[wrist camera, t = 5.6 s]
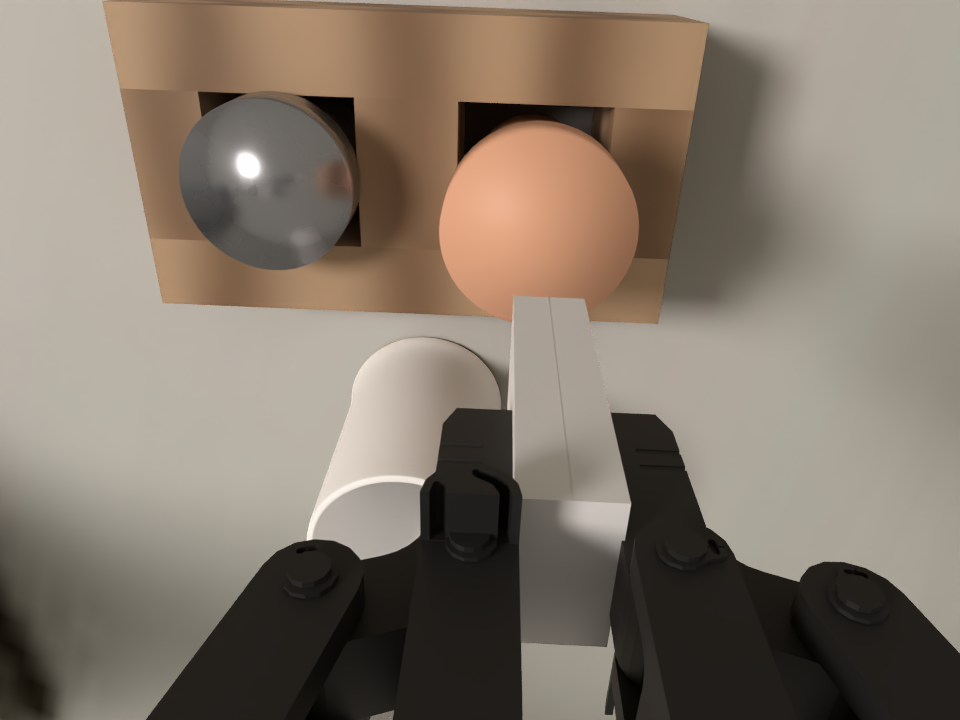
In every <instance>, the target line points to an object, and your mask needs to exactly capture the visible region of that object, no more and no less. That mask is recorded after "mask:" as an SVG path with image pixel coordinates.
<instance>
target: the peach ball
mask: <svg viewBox="0 0 960 720" xmlns="http://www.w3.org/2000/svg"><path fill="white" fill-rule="evenodd" d="M638 234H639V218H638V210H637V205H636V201H635V198H634V195H633V192H632V190H631V188H630V186H629V184H628V182H627V180H626V178H625V176H624V175H623V173H622V171H621V170H620V168H619V166H618V165H617V163H616V162H615V160H614V159H613V157H612V156H611V155H610V153H609V152H608V151H607V150H606V149H605V148H604V147H603V146H602V145H601V144H600V143H599V142H598V141H596V140H595V139H594V138H593V137H591V136H590V135H588V134H586V133H584V132H583V131H581V130H579V129H577V128H574V127H572V126H569V125H566V124H563V123H561V122H560V121H558V120H556V119H554V118H551V117H548V116H544V115H538V114H525V115H519V116H516V117H512V118H510V119H508V120H506V121H504V122H502V123H500V124H499V125H497V126H496V127H495V128H494V129H493V130H491V131H490V133H489V134H488V135H487V136H486V137H485V138H483V139H482V140H481V141H479V142H478V143H477V144H476V145H475V146H473V147H472V148H471V149H470V151H469V152H468V153H467V154H466V155H465V156H464V157H463V159H462V160H461V162H460V163H459V164H458V166H457V167H456V169H455V171H454V173H453V175H452V177H451V180H450V182H449V185H448V188H447V191H446V195H445V199H444V203H443V207H442V211H441V216H440V225H439V239H440V247H441V252H442V257H443V259H444V262H445V265H446V268H447V270H448V272H449V274H450V276H451V278H452V279H453V281H454V282H455V284H456V285H457V287H458V288H459V289H460V290H461V292H462V293H463V294H464V295H465V296H466V297H467V298H468V299H469V300H470V301H472V302H473V303H474V304H475V305H476V306H478V307H479V308H481V309H482V310H484V311H485V312H487V313H489V314H491V315H493V316H495V317H498V318H500V319H503V320H506V321H509V322H512V315H513V297H514V296H532V297H556V298H580V299H585V303H586V307H587V311H589V310H591V309H592V308H594V307H595V306H597V305H598V304H600V303H601V302H602V301H603V300H604V299H606V298H607V297H608V296H609V295H610V294H611V293H612V292H613V291H614V290H615V288H616V287H617V286H618V285H619V284H620V282H621V281H622V279H623V278H624V276H625V275H626V273H627V271H628V269H629V267H630V265H631V263H632V260H633V257H634V254H635V251H636V247H637V242H638Z"/></svg>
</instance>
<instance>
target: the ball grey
mask: <svg viewBox="0 0 960 720" xmlns="http://www.w3.org/2000/svg"><path fill="white" fill-rule="evenodd" d="M179 184H180V189H181V194H182V198H183V200H184V203H185V206H186V208H187V210H188V212H189V214H190V216H191V218H192V220H193V221H194V223H195V224H196V226H197V227H198V229H199V230H200V231H201V232H202V234H203V235H204V236H205V237H206V238H207V239H208V240H209V241H210V242H211V243H212V244H213V245H214V246H215V247H217V248H218V249H219V250H221V251H222V252H223V253H225V254H226V255H228V256H230V257H231V258H233V259H235V260H237V261H239V262H241V263H244V264H247V265H249V266H252V267H256V268H261V269H267V270H289V269H295V268H299V267H302V266H305V265H308V264H310V263H312V262H314V261H316V260H318V259H319V258H321V257H322V256H324V255H325V254H326V253H327V252H328V251H329V250H330V249H331V248H332V247H333V246H334V245H335V244H336V243H337V241H338V240H339V238H340V237H341V235H342V233H343V232H344V230H345V229H346V227H347V225H348V224H349V222H350V220H351V219H352V217H353V215H354V213H355V210H356V208H357V204H358V201H359V195H360V171H359V166H358V162H357V152H356V132H355V114H354V113H353V112H352V111H351V109H350V108H349V107H348V106H347V105H345V104H344V103H343V102H342V101H340V100H339V99H337V98H336V97H328V96H302V95H292V94H288V93H284V92H277V91H259V92H253V93H249V94H246V95H243V96H240V97H237V98H235V99H233V100H231V101H229V102H227V103H225V104H223V105H220V106H219V107H217V108H215V109H213V110H211V111H210V112H208V113H207V114H206V115H204V116H203V117H202V118H201V119H200V120H199V121H198V122H197V123H196V124H195V125H194V127H193V128H192V129H191V131H190V132H189V134H188V136H187V138H186V140H185V142H184V144H183V147H182V151H181V154H180V160H179Z"/></svg>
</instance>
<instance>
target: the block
mask: <svg viewBox="0 0 960 720" xmlns="http://www.w3.org/2000/svg"><path fill="white" fill-rule="evenodd" d="M103 6H104V11H105V16H106V21H107V26H108V31H109V36H110V41H111V46H112V51H113V56H114V61H115V66H116V71H117V76H118V81H119V86H120V91H121V96H122V101H123V106H124V111H125V116H126V121H127V126H128V131H129V136H130V141H131V146H132V151H133V156H134V161H135V166H136V171H137V176H138V181H139V186H140V191H141V196H142V201H143V206H144V211H145V216H146V221H147V226H148V231H149V236H150V241H151V246H152V251H153V256H154V261H155V266H156V271H157V276H158V281H159V286H160V291H161V296H162V301H163V303H173V304H197V305H222V306H246V307H270V308H294V309H318V310H342V311H366V312H390V313H415V314H439V315H463V316H487V317H495V316H493V315H491V314H489V313H487V312H485V311H484V310H482V309H481V308H479V307H478V306H476V305H475V304H474V303H473V302H472V301H470V300H469V299H468V298H467V297H466V296H465V295H464V294H463V293H462V292H461V290H460V289H459V288H458V287H457V285H456V284H455V282H454V281H453V279H452V278H451V276H450V274H449V272H448V270H447V268H446V265H445V262H444V259H443V257H442V252H441V247H440V239H439V225H440V216H441V211H442V207H443V203H444V199H445V195H446V191H447V188H448V185H449V182H450V180H451V177H452V175H453V173H454V171H455V169H456V167H457V166H458V164H459V163H460V162H461V160H462V159H463V157H464V128H465V102H484V103H510V104H536V105H562V106H588V107H595V110H594V119H593V129H592V137H593V138H594V139H595V140H596V141H598V142H599V143H600V144H601V145H602V146H603V147H604V148H605V149H606V150H607V151H608V152H609V153H610V155H611V156H612V157H613V159H614V160H615V162H616V163H617V165H618V166H619V168H620V170H621V171H622V173H623V175H624V176H625V178H626V180H627V182H628V184H629V186H630V188H631V190H632V192H633V195H634V198H635V201H636V205H637V210H638V218H639V234H638V242H637V247H636V251H635V254H634V257H633V260H632V263H631V265H630V267H629V269H628V271H627V273H626V275H625V276H624V278H623V279H622V281H621V282H620V284H619V285H618V286H617V287H616V288H615V290H614V291H613V292H612V293H611V294H610V295H609V296H608V297H607V298H606V299H604V300H603V301H602V302H601V303H600V304H598V305H597V306H595V307H594V308H592V309H591V310H589V311H587V312H588V316H589V321H608V322H632V323H656V324H658V321H659V315H660V309H661V303H662V297H663V291H664V285H665V280H666V274H667V268H668V262H669V256H670V250H671V244H672V238H673V232H674V227H675V221H676V215H677V209H678V203H679V197H680V191H681V185H682V179H683V173H684V168H685V162H686V156H687V150H688V144H689V138H690V132H691V126H692V120H693V114H694V109H695V103H696V97H697V91H698V85H699V79H700V73H701V67H702V61H703V55H704V50H705V44H706V38H707V32H708V26H709V23H705V22H700V21H696V20H692V19H688V18H684V17H680V16H676V15H661V14H634V13H607V12H580V11H553V10H526V9H499V8H472V7H445V6H418V5H392V4H365V3H338V2H311V1H284V0H110V1H103ZM259 91H277V92H284V93H288V94H292V95H302V96H328V97H354V112H355V132H356V152H357V162H358V166H359V171H360V195H359V205H357V208H356V210H355V213H354V215H353V217H352V219H351V220H350V222H349V224H348V225H347V227H346V229H345V230H344V232H343V233H342V235H341V237H340V238H339V240H338V241H337V243H336V244H335V245H334V246H333V247H332V248H331V249H330V250H329V251H328V252H327V253H326V254H325V255H324V256H322V257H321V258H319V259H318V260H316V261H314V262H312V263H310V264H308V265H305V266H302V267H299V268H295V269H289V270H267V269H261V268H256V267H252V266H249V265H247V264H244V263H241V262H239V261H237V260H235V259H233V258H231V257H230V256H228V255H226V254H225V253H223V252H222V251H221V250H219V249H218V248H217V247H215V246H214V245H213V244H212V243H211V242H210V241H209V240H208V239H207V238H206V237H205V236H204V235H203V234H202V232H201V231H200V230H199V229H198V227H197V226H196V224H195V223H194V221H193V220H192V218H191V216H190V214H189V212H188V210H187V208H186V206H185V203H184V200H183V198H182V194H181V189H180V184H179V160H180V154H181V151H182V147H183V144H184V142H185V140H186V138H187V136H188V134H189V132H190V131H191V129H192V128H193V127H194V125H195V124H196V123H197V122H198V121H199V120H200V119H201V118H202V117H203V116H204V115H206V114H207V113H208V112H210V111H211V110H213V109H215V108H217V107H219V106H220V105H223V104H225V103H227V102H229V101H231V100H233V99H235V98H237V97H240V96H243V95H246V94H249V93H253V92H259Z"/></svg>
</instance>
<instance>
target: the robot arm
mask: <svg viewBox="0 0 960 720" xmlns="http://www.w3.org/2000/svg"><path fill="white" fill-rule="evenodd" d="M610 626H611V629H612V635H613V642H614V648H615V653H614V658H613V664H612V670H611V675H610V681H609V686H608V692H607V698H606V706H605V715H613V709H614V706H615V713H616V720H960V653H959V652H958V651H957V650H956V649H955V648H954V647H953V646H952V645H951V644H950V643H949V642H948V641H947V639H946V638H945V637H944V636H943V635H942V634H941V633H940V632H939V631H938V630H937V629H936V628H935V627H934V626H933V624H932V623H931V622H930V621H929V620H928V619H927V618H926V617H925V616H924V615H923V614H922V613H921V612H920V611H919V609H918V608H917V607H916V606H915V605H914V604H913V603H912V602H911V601H910V600H909V599H908V598H907V597H906V596H905V595H904V593H902V592H901V591H900V590H899V589H898V588H896V587H895V586H894V585H893V584H892V583H890V582H889V581H888V580H887V579H885V578H883V577H881V576H879V575H877V574H876V573H874V572H872V571H870V570H868V569H866V568H863V567H859V566H856V565H852V564H848V563H845V562H822V563H820V564H817V565H814V566H811V567H809V568H808V569H807V571H806V572H805V573H804V574H803V576H802V577H801V579H800V582H797V581H793V580H790V579H786V578H783V577H779V576H776V575H772V574H769V573H765V572H762V571H759V570H757V569H754V568H751V567H748V566H746V565H744V564H743V563H741V562H739V561H737V560H736V558H735V555H734V554H733V552H732V550H731V549H730V547H729V546H728V544H727V543H726V541H725V540H724V539H722V538H721V537H720V536H718V535H717V534H716V533H715V532H713V531H712V530H711V529H709V528H706V525H705V522H704V519H703V516H702V514H701V511H700V508H699V505H698V502H697V499H696V497H695V494H694V491H693V488H692V485H691V482H690V480H689V477H688V474H687V471H685V465H684V463H683V460H682V457H681V455H679V448H678V446H677V443H676V440H675V437H674V434H673V432H672V431H671V430H670V429H669V428H668V427H667V426H666V425H665V424H664V423H663V422H662V421H661V420H660V419H659V418H658V417H657V416H656V415H651V414H628V413H610V408H609V404H608V400H607V395H606V391H605V386H604V382H603V378H602V373H601V369H600V364H599V360H598V356H597V351H596V347H595V342H594V338H593V334H592V329H591V325H590V321H589V316H588V312H587V307H586V303H585V299H580V298H556V297H532V296H514V297H513V315H512V332H511V350H510V367H509V385H508V403H507V410H495V409H473V408H456V409H455V410H454V412H453V413H452V414H451V415H450V416H449V417H448V418H447V419H446V421H445V422H444V423H443V426H442V433H441V439H440V446H439V453H438V461H437V466H436V472H434V473H433V474H432V475H431V476H429V477H428V478H427V479H426V480H425V482H424V484H423V486H422V488H421V490H420V536H419V537H418V538H417V539H416V540H414V541H413V542H412V543H411V544H409V545H408V546H406V547H404V548H402V549H400V550H398V551H396V552H392V553H389V554H386V555H382V556H378V557H373V558H368V559H363V560H360V558H359V557H358V556H357V555H356V554H355V553H354V551H353V550H352V549H351V548H350V547H348V546H345V545H343V544H341V543H338V542H336V541H332V540H319V539H313V540H308V541H302V542H297V543H294V544H292V545H290V546H288V547H286V548H284V549H281V550H279V551H277V552H276V553H275V554H274V555H273V556H272V557H271V558H270V559H269V560H267V561H266V562H265V563H264V564H263V565H262V567H261V568H260V569H259V571H258V572H257V573H256V575H255V576H254V577H253V579H252V580H251V581H250V583H249V584H248V585H247V587H246V588H245V589H244V591H243V592H242V593H241V595H240V596H239V597H238V599H237V600H236V601H235V602H234V604H233V605H232V606H231V608H230V609H229V610H228V612H227V613H226V614H225V616H224V617H223V618H222V620H221V621H220V622H219V624H218V625H217V626H216V628H215V629H214V630H213V632H212V633H211V634H210V636H209V637H208V638H207V640H206V641H205V642H204V644H203V645H202V646H201V647H200V649H199V650H198V651H197V653H196V654H195V655H194V657H193V658H192V659H191V661H190V662H189V663H188V665H187V666H186V667H185V669H184V670H183V671H182V673H181V674H180V675H179V677H178V678H177V679H176V681H175V682H174V683H173V685H172V686H171V687H170V689H169V690H168V691H167V692H166V694H165V695H164V696H163V698H162V699H161V700H160V702H159V703H158V704H157V706H156V707H155V708H154V710H153V711H152V712H151V714H150V715H149V716H148V718H147V719H146V720H369V719H370V716H373V715H377V714H381V713H385V712H388V711H392V710H394V716H393V720H522V671H521V643H541V644H561V645H580V646H600V647H607V643H608V637H609V632H610Z"/></svg>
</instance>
